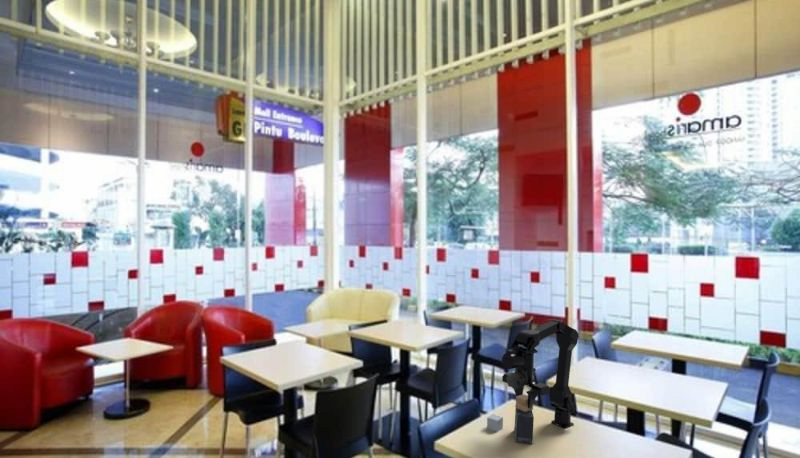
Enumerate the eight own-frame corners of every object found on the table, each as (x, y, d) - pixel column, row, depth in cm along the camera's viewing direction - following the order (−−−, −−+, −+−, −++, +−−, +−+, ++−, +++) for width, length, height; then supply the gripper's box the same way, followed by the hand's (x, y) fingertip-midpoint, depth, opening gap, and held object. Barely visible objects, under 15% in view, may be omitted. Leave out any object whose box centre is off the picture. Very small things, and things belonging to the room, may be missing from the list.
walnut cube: (523, 405, 173) (523, 393, 173) (532, 409, 169) (533, 397, 169) (515, 407, 170) (516, 396, 170) (524, 411, 166) (525, 400, 166)
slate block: (492, 425, 180) (492, 414, 180) (502, 428, 177) (503, 417, 177) (486, 428, 176) (487, 417, 176) (497, 432, 173) (497, 420, 173)
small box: (533, 445, 164) (534, 416, 164) (515, 442, 165) (516, 414, 165) (530, 432, 174) (531, 405, 174) (513, 430, 175) (514, 403, 175)
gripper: (492, 361, 173) (491, 401, 173) (531, 375, 157) (530, 419, 157) (512, 357, 179) (511, 396, 179) (551, 370, 164) (550, 413, 164)
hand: (524, 405), depth 170 cm, fingers closed on walnut cube, 4 cm apart
